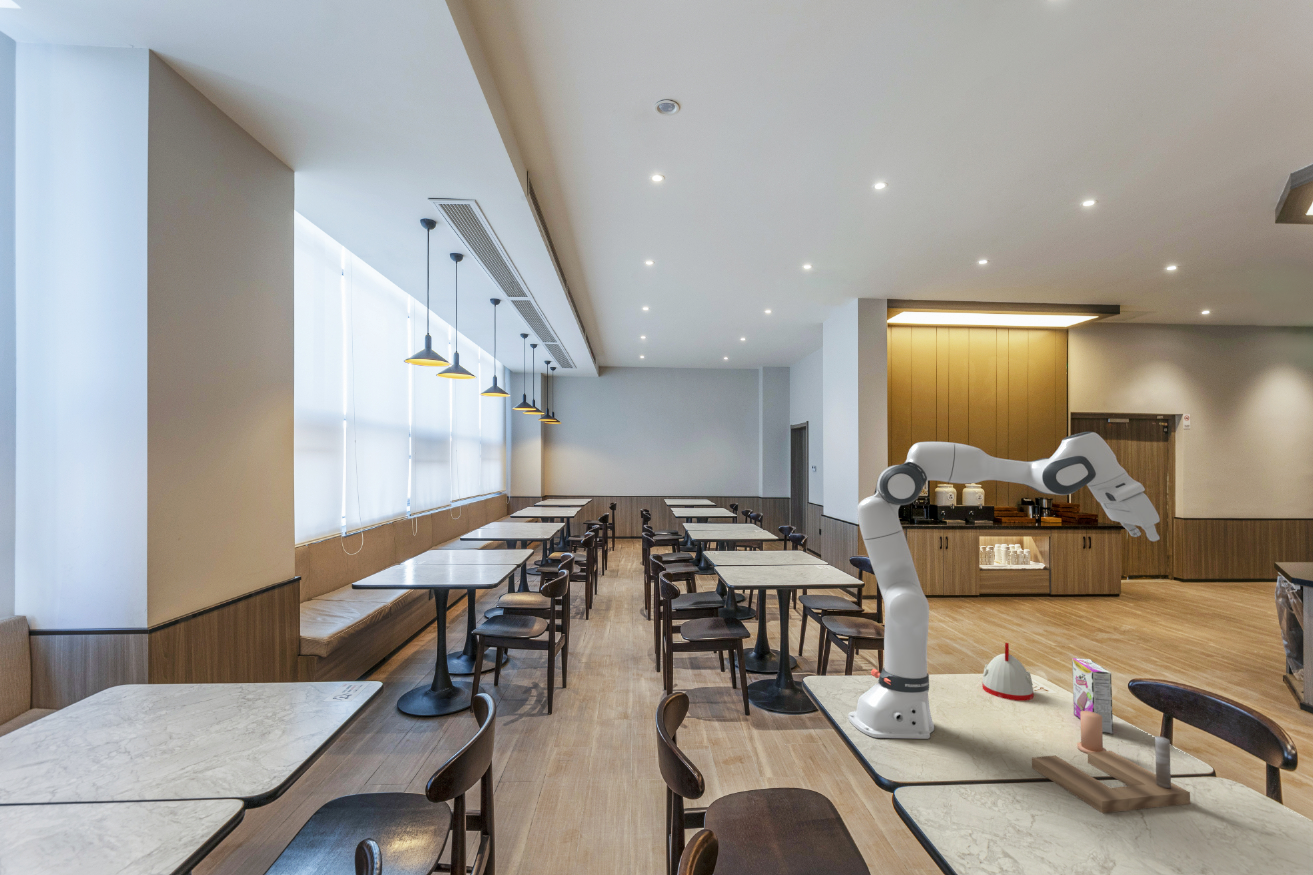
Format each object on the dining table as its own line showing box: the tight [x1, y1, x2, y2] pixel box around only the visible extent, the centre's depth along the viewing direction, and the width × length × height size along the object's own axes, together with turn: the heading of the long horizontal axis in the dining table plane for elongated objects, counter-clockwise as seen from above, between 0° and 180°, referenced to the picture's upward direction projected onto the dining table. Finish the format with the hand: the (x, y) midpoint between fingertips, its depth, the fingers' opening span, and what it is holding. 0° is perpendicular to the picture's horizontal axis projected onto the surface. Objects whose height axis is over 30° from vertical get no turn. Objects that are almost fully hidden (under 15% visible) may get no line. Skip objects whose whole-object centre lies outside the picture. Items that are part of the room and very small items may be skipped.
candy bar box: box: [1071, 657, 1114, 734], centre depth 161 cm, size 11×5×16 cm, turn 168°
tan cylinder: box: [1076, 711, 1108, 755], centre depth 146 cm, size 6×6×9 cm
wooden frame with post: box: [1031, 735, 1191, 814], centre depth 131 cm, size 22×18×12 cm
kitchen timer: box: [981, 642, 1034, 702], centre depth 184 cm, size 14×14×15 cm
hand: (1145, 537), depth 145 cm, fingers open, 8 cm apart
